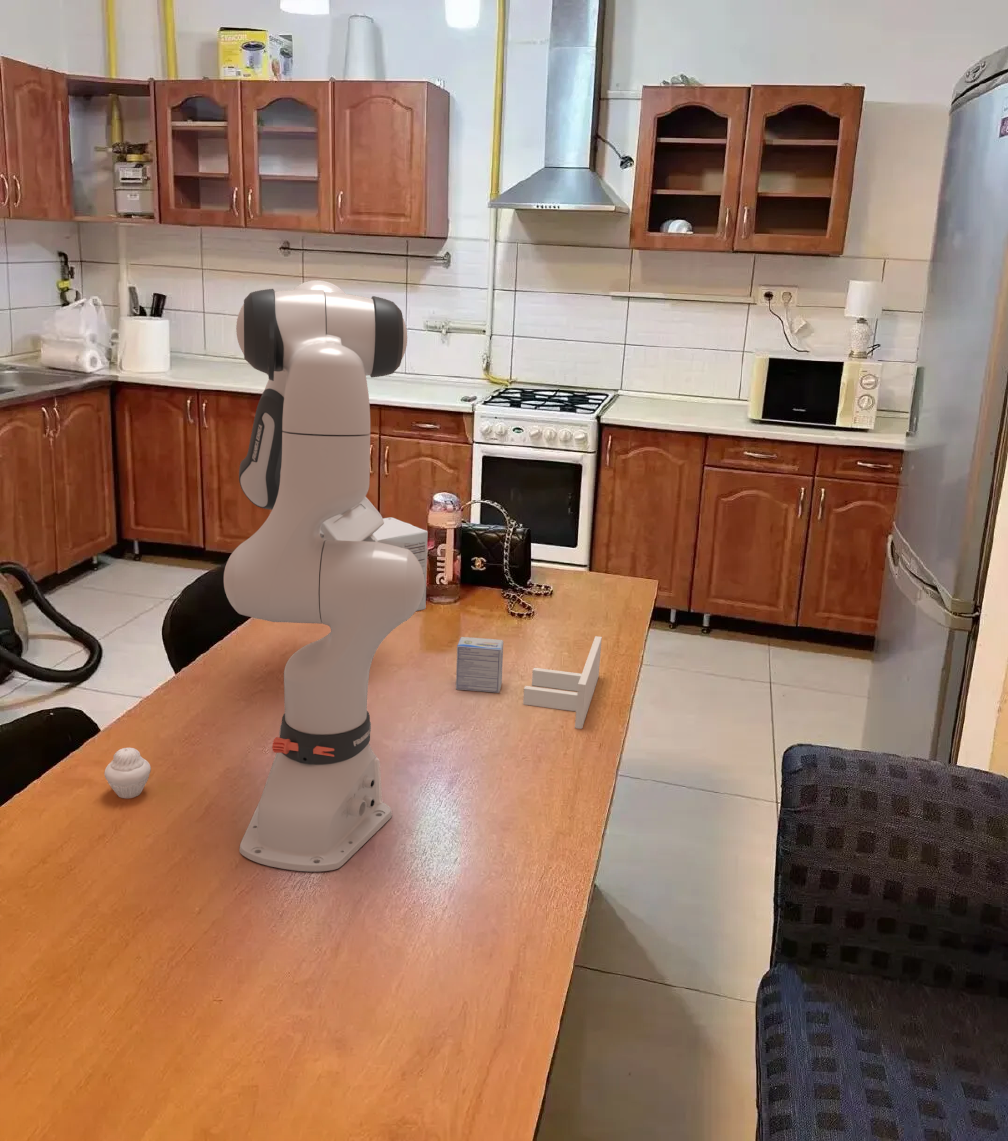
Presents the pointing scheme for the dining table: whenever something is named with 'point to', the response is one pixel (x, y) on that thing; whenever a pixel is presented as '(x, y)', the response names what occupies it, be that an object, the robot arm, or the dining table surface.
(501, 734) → the dining table surface
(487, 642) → the medicine box
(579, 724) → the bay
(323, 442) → the robot arm
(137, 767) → the muffin
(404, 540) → the supplement box
